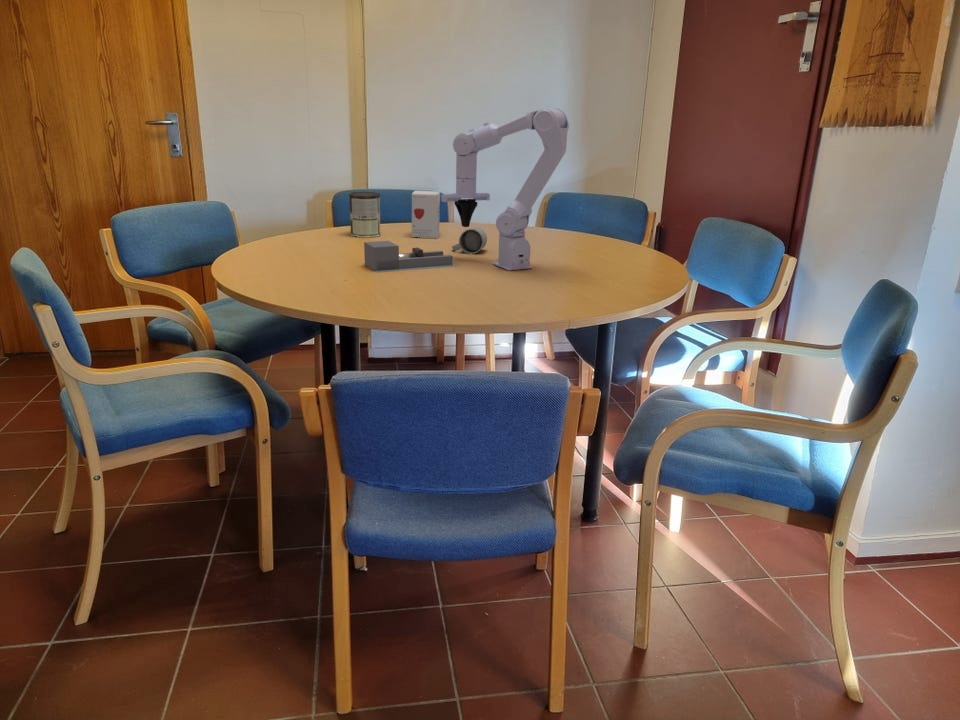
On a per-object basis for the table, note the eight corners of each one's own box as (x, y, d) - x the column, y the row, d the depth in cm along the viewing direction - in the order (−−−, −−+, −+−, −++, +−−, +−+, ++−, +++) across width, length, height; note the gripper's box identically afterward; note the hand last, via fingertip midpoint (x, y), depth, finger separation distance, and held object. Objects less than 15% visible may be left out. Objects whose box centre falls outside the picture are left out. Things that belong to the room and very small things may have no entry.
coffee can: (344, 234, 240) (343, 192, 235) (370, 231, 247) (369, 191, 242) (360, 238, 233) (358, 195, 228) (386, 236, 239) (385, 194, 234)
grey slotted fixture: (458, 267, 195) (459, 243, 192) (376, 274, 184) (376, 248, 182) (441, 259, 205) (441, 236, 202) (362, 265, 194) (361, 240, 192)
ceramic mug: (487, 250, 221) (488, 225, 218) (482, 254, 213) (483, 229, 211) (455, 248, 223) (455, 224, 220) (449, 253, 215) (449, 228, 213)
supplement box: (410, 238, 237) (410, 193, 232) (414, 233, 246) (414, 190, 241) (437, 238, 237) (437, 193, 232) (439, 234, 245) (440, 191, 240)
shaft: (423, 264, 194) (423, 250, 193) (390, 266, 190) (390, 252, 188) (417, 261, 197) (417, 247, 196) (385, 264, 193) (385, 249, 192)
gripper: (482, 176, 203) (481, 223, 208) (436, 177, 197) (436, 225, 201) (493, 178, 197) (492, 226, 202) (447, 179, 191) (447, 229, 195)
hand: (465, 226), depth 201 cm, fingers closed
